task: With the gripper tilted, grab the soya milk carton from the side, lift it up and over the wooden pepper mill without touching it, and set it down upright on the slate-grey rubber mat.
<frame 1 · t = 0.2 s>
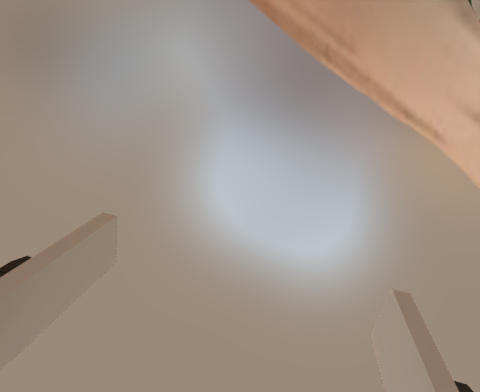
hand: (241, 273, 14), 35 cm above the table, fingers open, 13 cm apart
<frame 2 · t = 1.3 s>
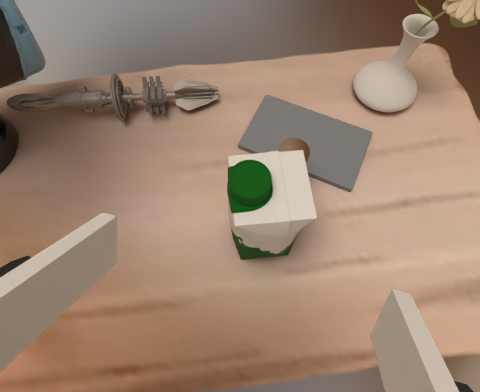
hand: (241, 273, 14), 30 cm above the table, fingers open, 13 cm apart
spaceship: (126, 113, 55), on the table
slate mat: (304, 141, 52), on the table
flower in vase: (384, 95, 56), on the table
wooden pepper mill: (284, 186, 49), on the table
soya milk: (262, 235, 46), on the table
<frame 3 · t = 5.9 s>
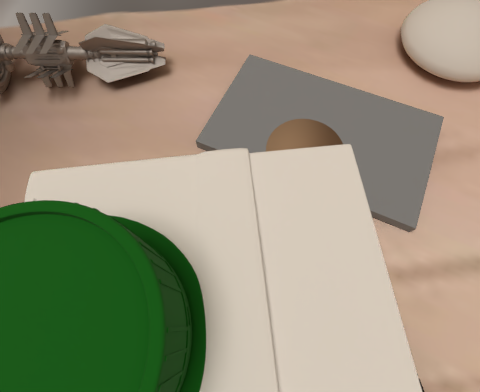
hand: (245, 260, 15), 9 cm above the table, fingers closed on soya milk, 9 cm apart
spaceship: (11, 84, 32), on the table
slate mat: (318, 135, 29), on the table
flower in vase: (453, 56, 32), on the table
wooden pepper mill: (281, 220, 25), on the table
soya milk: (235, 325, 22), on the table, touching gripper
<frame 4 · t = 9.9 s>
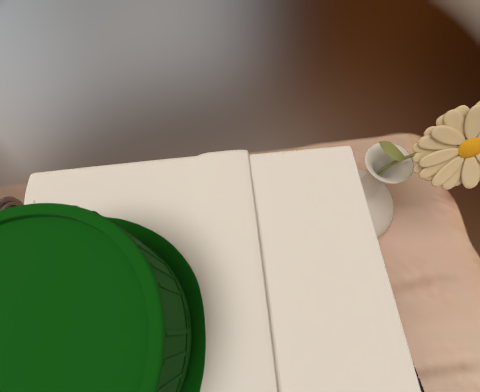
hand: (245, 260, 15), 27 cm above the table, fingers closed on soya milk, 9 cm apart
flower in vase: (353, 210, 44), on the table
soya milk: (235, 325, 22), point 17 cm above the table, touching gripper
when the fingers open (11 cm above the table, at t = 13.9 s): soya milk drops 1 cm, resting on slate mat.
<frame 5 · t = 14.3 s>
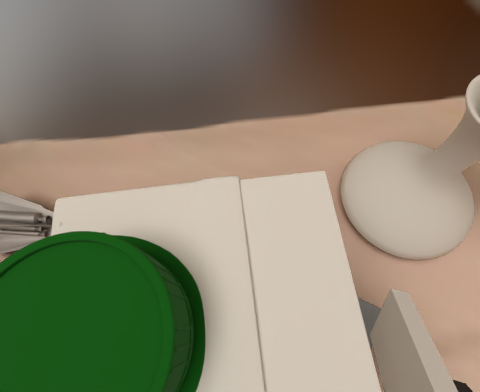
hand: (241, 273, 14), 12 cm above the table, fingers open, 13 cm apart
slate mat: (236, 325, 24), on the table
flower in vase: (403, 208, 28), on the table
soya milk: (234, 325, 24), point 1 cm above the table, touching slate mat
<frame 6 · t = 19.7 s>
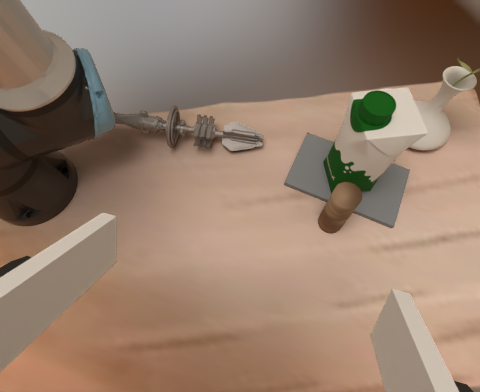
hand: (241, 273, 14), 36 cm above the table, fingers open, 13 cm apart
spaceship: (176, 139, 60), on the table
slate mat: (345, 178, 55), on the table
flower in vase: (418, 132, 59), on the table
wooden pepper mill: (329, 222, 52), on the table
soya milk: (346, 176, 55), point 1 cm above the table, touching slate mat
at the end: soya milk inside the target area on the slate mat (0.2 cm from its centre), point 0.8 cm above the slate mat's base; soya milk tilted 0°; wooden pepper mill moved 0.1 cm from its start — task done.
